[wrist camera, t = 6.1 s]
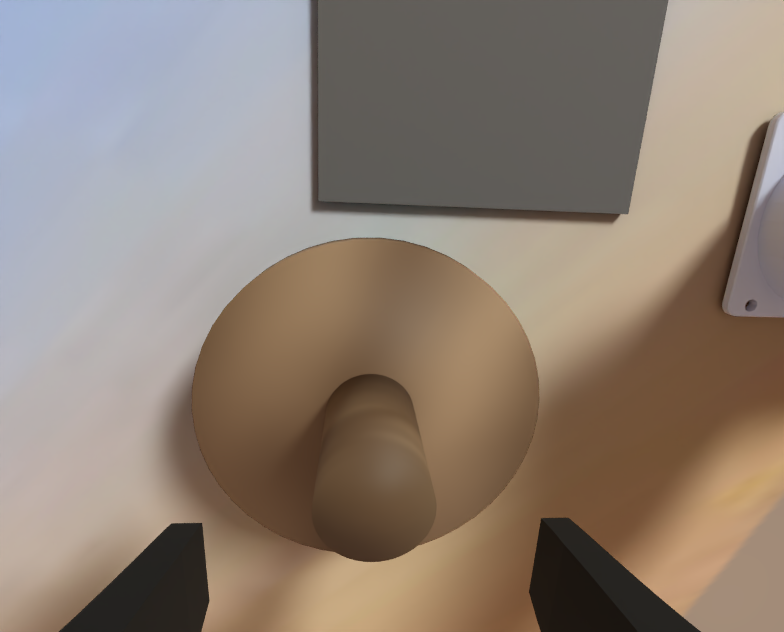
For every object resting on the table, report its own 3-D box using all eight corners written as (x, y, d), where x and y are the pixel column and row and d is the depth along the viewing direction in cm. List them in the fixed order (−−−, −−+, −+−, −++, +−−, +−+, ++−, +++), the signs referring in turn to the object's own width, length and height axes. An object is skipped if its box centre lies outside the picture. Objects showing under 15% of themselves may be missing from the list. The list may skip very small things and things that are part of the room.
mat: (692, -166, 14) (700, -175, 14) (622, 213, 18) (628, 214, 17) (318, -209, 13) (317, -220, 13) (319, 200, 17) (318, 201, 16)
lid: (555, 248, 14) (664, 284, 9) (506, 537, 17) (567, 683, 12) (190, 226, 13) (85, 252, 8) (208, 536, 16) (140, 695, 11)
